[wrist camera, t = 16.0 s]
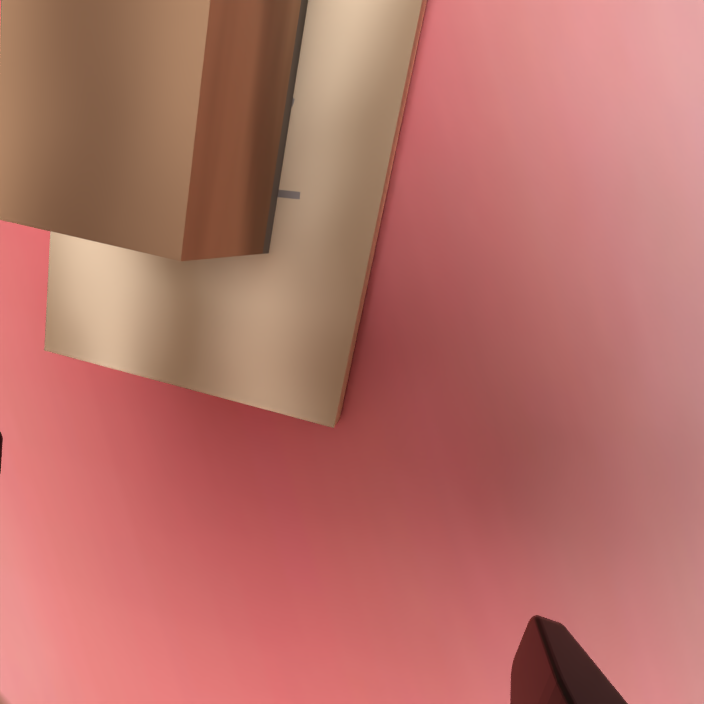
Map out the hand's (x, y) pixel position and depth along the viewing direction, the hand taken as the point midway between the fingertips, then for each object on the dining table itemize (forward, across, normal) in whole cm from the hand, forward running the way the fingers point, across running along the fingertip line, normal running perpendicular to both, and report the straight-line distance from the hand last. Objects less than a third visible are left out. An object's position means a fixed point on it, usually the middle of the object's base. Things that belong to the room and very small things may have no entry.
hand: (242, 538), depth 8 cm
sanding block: (+10, +7, -8) cm, 15 cm away
